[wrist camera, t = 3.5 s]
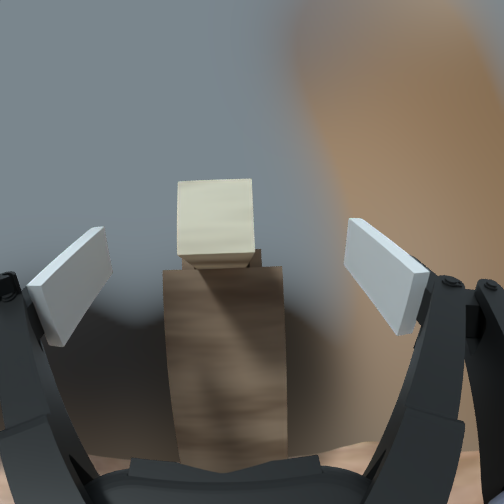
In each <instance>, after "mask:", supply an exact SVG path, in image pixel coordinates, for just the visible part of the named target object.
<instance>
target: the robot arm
mask: <svg viewBox="0 0 504 504" xmlns="http://www.w3.org/2000/svg"><path fill="white" fill-rule="evenodd" d="M344 266H345V267H346V269H347V270H348V271H349V272H350V274H351V275H352V276H353V277H354V279H355V280H356V281H357V282H358V284H359V285H360V287H361V288H362V289H363V291H364V292H365V293H366V294H367V296H368V297H369V298H370V300H371V301H372V302H373V304H374V305H375V306H376V308H377V309H378V310H379V312H380V313H381V315H382V316H383V317H384V318H385V320H386V321H387V323H388V324H389V325H390V327H391V328H392V330H393V331H394V332H395V334H396V335H397V336H399V335H405V334H410V333H412V332H413V329H414V326H415V323H416V320H417V321H418V322H419V324H420V325H421V328H420V331H419V334H418V337H417V339H416V342H415V345H414V352H413V355H412V358H411V362H410V365H409V368H408V371H407V374H406V377H405V380H404V383H403V386H402V389H401V392H400V394H399V397H398V400H397V402H396V405H395V408H394V410H393V412H392V415H391V418H390V420H389V422H388V425H387V427H386V430H385V432H384V434H383V437H382V439H381V441H380V443H379V445H378V447H377V449H376V451H375V453H374V455H373V457H372V459H371V461H370V463H369V465H368V467H367V469H366V470H365V472H364V474H363V475H360V474H358V473H355V472H352V471H349V470H346V469H342V468H337V467H330V466H321V465H320V461H319V457H318V455H313V456H306V457H299V458H292V459H283V460H273V461H269V462H266V463H263V464H259V465H256V466H252V467H248V468H245V469H241V470H237V471H233V472H229V473H217V472H212V471H208V470H203V469H199V468H195V467H191V466H187V465H184V464H180V463H177V462H168V461H157V460H147V459H138V458H131V462H130V468H129V469H124V470H119V471H114V472H111V473H107V474H105V475H102V476H100V475H99V474H98V473H97V471H96V470H95V468H94V466H93V464H92V463H91V461H90V459H89V457H88V455H87V454H86V452H85V450H84V448H83V446H82V444H81V442H80V440H79V438H78V436H77V433H76V432H75V429H74V427H73V425H72V423H71V420H70V418H69V416H68V414H67V411H66V409H65V406H64V404H63V402H62V399H61V396H60V394H59V391H58V389H57V386H56V383H55V380H54V378H53V375H52V372H51V369H50V366H49V363H48V360H47V357H46V353H45V350H44V347H43V344H42V342H41V340H40V338H41V337H42V336H43V334H45V336H46V338H47V341H48V343H49V345H53V346H61V347H64V346H65V344H66V342H67V341H68V339H69V337H70V336H71V334H72V333H73V331H74V329H75V328H76V326H77V325H78V323H79V322H80V320H81V318H82V317H83V315H84V314H85V312H86V311H87V309H88V308H89V306H90V305H91V303H92V302H93V300H94V299H95V298H96V296H97V295H98V293H99V292H100V290H101V289H102V287H103V286H104V285H105V283H106V282H107V280H108V279H109V278H110V276H111V275H112V273H113V271H112V266H111V261H110V256H109V251H108V245H107V240H106V234H105V228H104V227H93V228H91V229H90V230H88V231H87V232H86V233H85V234H84V235H82V236H81V237H80V238H79V239H78V240H76V241H75V242H74V243H73V244H72V245H70V246H69V247H68V248H67V249H66V250H65V251H64V252H62V253H61V254H60V255H59V256H58V257H57V258H56V259H54V260H53V261H52V262H51V263H50V264H49V265H48V266H47V267H46V268H45V269H43V271H41V272H40V273H39V274H38V275H37V276H36V277H35V278H34V279H33V280H32V281H31V282H30V283H29V284H28V285H27V286H26V287H25V288H24V289H23V290H22V291H21V288H20V285H19V282H18V279H17V276H16V273H15V272H12V271H11V272H5V273H2V274H0V400H1V407H2V413H3V418H4V423H5V430H2V431H0V454H1V459H2V463H3V467H4V470H5V474H6V477H7V481H8V484H9V487H10V490H11V493H12V496H13V499H14V502H15V504H447V502H448V499H449V495H450V492H451V489H452V485H453V482H454V478H455V474H456V470H457V466H458V462H459V458H460V453H461V448H462V443H463V438H464V432H465V423H464V422H463V421H461V420H457V418H458V412H459V405H460V398H461V390H462V381H463V371H464V370H463V369H464V359H465V363H466V367H467V372H468V377H469V381H470V386H471V392H472V396H473V403H474V409H475V416H476V421H477V422H476V423H477V431H478V439H479V451H480V466H481V484H482V494H483V501H484V504H504V289H503V288H502V287H501V286H500V285H499V284H497V282H495V281H493V280H488V279H480V280H479V281H478V282H477V286H476V289H475V290H470V289H465V286H464V284H463V283H462V282H461V281H460V280H458V279H456V278H454V277H451V276H445V275H443V276H441V275H440V276H437V275H436V274H435V273H433V272H432V271H431V270H430V269H429V268H427V267H426V266H425V265H424V264H422V263H421V262H420V261H419V260H418V259H416V258H415V257H413V256H411V255H409V254H408V253H406V252H405V251H404V250H403V249H401V248H400V247H399V246H397V245H396V244H395V243H394V242H392V241H391V240H390V239H388V238H387V237H386V236H385V235H383V234H382V233H380V232H379V231H378V230H377V229H375V228H374V227H373V226H371V225H370V224H369V223H367V222H366V221H364V220H363V219H362V218H349V221H348V231H347V242H346V249H345V258H344Z"/></svg>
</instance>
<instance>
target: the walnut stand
mask: <svg viewBox="0 0 504 504" xmlns="http://www.w3.org/2000/svg"><path fill="white" fill-rule="evenodd" d="M163 296H164V297H163V300H164V322H165V337H166V351H167V363H168V374H169V385H170V394H171V402H172V411H173V418H174V426H175V433H176V439H177V445H178V451H179V458H180V464H184V465H187V466H191V467H195V468H199V469H203V470H208V471H212V472H217V473H229V472H233V471H237V470H241V469H245V468H248V467H252V466H256V465H259V464H263V463H266V462H269V461H273V460H283V459H288V443H287V439H288V438H287V379H286V346H285V319H284V296H283V275H282V266H278V267H277V266H276V267H262V261H261V249H255V253H254V255H253V257H252V258H251V260H250V262H249V264H248V265H247V267H246V268H224V269H197V268H195V267H194V266H192V265H191V264H189V263H188V262H187V261H185V260H184V259H182V270H163Z"/></svg>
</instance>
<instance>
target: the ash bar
mask: <svg viewBox="0 0 504 504" xmlns="http://www.w3.org/2000/svg"><path fill="white" fill-rule="evenodd" d="M177 201H178V203H177V255H178V256H179V257H181V258H182V259H184V260H185V261H187V262H188V263H189V264H191V265H192V266H194V267H195V268H197V269H224V268H246V267H247V265H248V264H249V262H250V260H251V258H252V257H253V255H254V253H255V241H254V219H253V198H252V179H227V180H226V179H225V180H200V181H181V182H178V200H177Z"/></svg>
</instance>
